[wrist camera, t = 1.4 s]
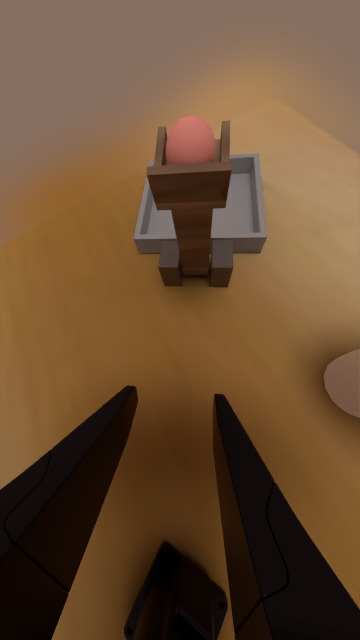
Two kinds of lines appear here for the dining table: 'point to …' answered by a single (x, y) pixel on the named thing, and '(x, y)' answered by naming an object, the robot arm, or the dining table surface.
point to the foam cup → (345, 382)
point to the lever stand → (218, 271)
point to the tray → (214, 213)
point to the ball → (190, 142)
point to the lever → (192, 197)
